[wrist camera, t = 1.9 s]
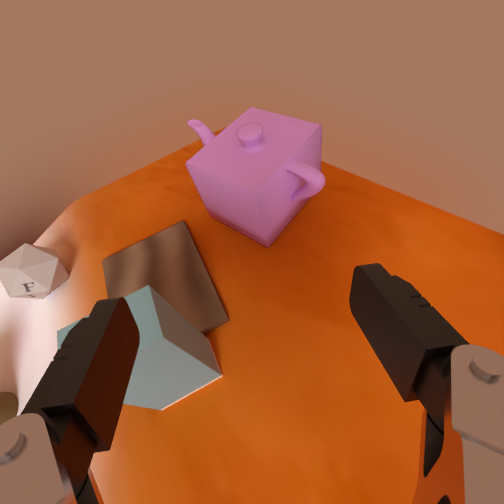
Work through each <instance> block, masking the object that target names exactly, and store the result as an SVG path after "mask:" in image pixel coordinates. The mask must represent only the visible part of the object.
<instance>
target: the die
mask: <svg viewBox="0 0 504 504" xmlns="http://www.w3.org/2000/svg"><path fill="white" fill-rule="evenodd" d="M68 278H69V275H68V273H67V271H66V269H65V267H64V266H63V264H62V262H61V260H60V258H59V256H58V254H57V252H56V250H51V249H47V248H43V247H39V246H35V245H30V244H26V243H25V244H23V245H22V246H21V247H20V248H18V249H17V250H15V251H14V252H13V253H12V254H10V255H9V256H7V257H6V258H5V259H4V260H2V261H0V280H1V282H2V284H3V286H4V287H5V289H6V291H7V293H8V295H9V297H17V298H35V299H43V298H45V297H46V296H47V295H48V294H49V293H51V292H52V291H53V290H54V289H55V288H57V287H58V286H59V285H60V284H61V283H63V282H64V281H65V280H66V279H68Z"/></svg>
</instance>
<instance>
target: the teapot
mask: <svg viewBox="0 0 504 504" xmlns="http://www.w3.org/2000/svg"><path fill="white" fill-rule="evenodd" d="M187 124H188V125H189V126H190V127H191V128H192V129H193V130H194V131H195V132H196V133H197V134H198V135H199V137H200V139H201V141H202V142H203V145H204V147H203V148H202V149H201V150H200V151H199V152H198V153H196V154H195V155H194V156H193V157H192V158H191V159H190V160H188V161H187V162H186V167H187V169H188V171H189V173H190V175H191V177H192V179H193V181H194V183H195V186H196V188H197V190H198V192H199V194H200V196H201V198H202V200H203V202H204V205H205V207H206V209H207V211H208V213H209V215H210V217H212V218H214V219H216V220H217V221H219V222H221V223H223V224H225V225H227V226H228V227H230V228H232V229H234V230H236V231H237V232H239V233H241V234H243V235H245V236H247V237H248V238H250V239H252V240H254V241H256V242H258V243H259V244H261V245H263V246H265V247H267V248H269V247H270V245H271V244H272V243H273V242H274V241H275V240H276V238H277V237H278V236H279V235H280V234H281V232H282V231H283V230H284V229H285V228H286V227H287V225H288V224H289V223H290V222H291V221H292V219H293V218H294V217H295V216H296V215H297V214H298V212H299V211H300V210H301V209H302V208H303V206H304V205H305V204H306V203H307V202H308V201H309V199H310V198H311V197H312V196H314V195H316V194H317V193H318V192H319V191H320V190H321V189H322V188H323V187H324V185H325V177H324V175H323V174H322V173H321V140H322V139H321V138H322V136H321V135H322V125H321V124H316V123H312V122H308V121H304V120H301V119H297V118H293V117H289V116H285V115H281V114H277V113H273V112H268V111H265V110H261V109H257V108H253V107H250V108H249V109H248V110H247V111H246V112H244V113H243V114H242V115H241V116H240V117H238V118H237V119H236V120H235V121H234V122H232V123H231V124H230V125H229V126H228V127H227V128H225V129H224V130H223V131H222V132H221V133H220V134H218V135H217V136H215V135H214V133H213V132H212V131H211V130H210V129H209V128H208V127H207V126H206V125H205V124H204V123H202V122H201V121H199V120H195V119H191V120H188V121H187Z"/></svg>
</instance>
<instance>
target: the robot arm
mask: <svg viewBox="0 0 504 504" xmlns="http://www.w3.org/2000/svg"><path fill="white" fill-rule="evenodd" d="M349 302H350V308H351V312H352V314H353V316H354V318H355V320H356V321H357V323H358V325H359V326H360V328H361V330H362V331H363V333H364V335H365V336H366V338H367V340H368V341H369V343H370V345H371V346H372V348H373V350H374V351H375V353H376V355H377V356H378V358H379V360H380V361H381V363H382V365H383V366H384V368H385V370H386V371H387V373H388V375H389V377H390V378H391V380H392V382H393V383H394V385H395V387H396V388H397V390H398V392H399V393H400V395H401V397H402V398H403V400H404V402H408V401H414V400H420V402H421V403H422V405H423V406H424V408H425V409H424V411H423V415H422V429H421V443H420V458H419V472H418V482H417V488H416V492H415V495H414V499H413V503H412V504H504V357H503V356H502V355H500V354H498V353H496V352H494V351H492V350H490V349H487V348H484V347H481V346H477V345H470V344H469V343H468V342H467V341H466V340H465V339H464V338H463V337H462V336H461V335H460V334H459V333H458V332H457V331H456V330H455V329H454V328H453V327H452V326H451V325H450V324H449V323H448V322H447V321H446V320H445V319H444V318H443V317H442V316H441V314H440V313H439V312H438V311H437V310H436V309H435V308H434V307H433V306H432V307H431V306H430V303H429V302H428V301H427V300H426V299H425V298H424V297H422V296H421V294H420V293H419V292H418V291H417V290H416V289H415V288H414V287H413V286H412V285H411V284H410V283H408V282H406V281H405V280H403V279H401V278H400V277H398V276H396V275H395V276H391V275H390V274H389V273H388V272H387V271H386V270H385V269H384V267H383V266H382V265H380V264H378V263H375V264H368V265H360V266H356V267H355V269H354V272H353V279H352V285H351V292H350V299H349ZM139 344H140V333H139V329H138V326H137V324H136V321H135V319H134V317H133V315H132V312H131V310H130V308H129V305H128V303H127V301H126V299H125V298H124V297H119V298H111V299H104V300H99V301H97V302H96V304H95V306H94V308H93V309H92V311H91V313H90V315H89V317H86V318H82V319H81V320H80V321H79V322H78V323H77V324H76V325H75V326H74V327H73V328H72V329H71V330H70V331H69V332H68V334H67V336H66V337H65V339H64V341H63V342H62V344H61V348H60V349H58V351H57V353H56V355H55V356H54V361H51V363H50V365H49V367H48V368H47V370H46V372H45V373H44V375H43V377H42V379H41V380H40V382H39V384H38V386H37V387H36V389H35V391H34V392H33V394H32V396H31V398H30V399H29V401H28V403H27V405H26V406H25V408H24V410H23V411H22V413H21V414H20V415H19V416H16V417H14V418H12V419H10V420H8V421H6V422H4V423H3V424H1V425H0V504H104V502H103V500H102V497H101V495H100V492H99V489H98V487H97V484H96V481H95V479H94V476H93V473H92V471H91V469H90V468H89V466H90V463H91V460H92V457H93V454H94V453H96V452H102V451H108V450H110V448H111V444H112V441H113V437H114V434H115V430H116V427H117V423H118V420H119V416H120V412H121V409H122V405H123V402H124V398H125V395H126V391H127V388H128V384H129V380H130V377H131V373H132V370H133V366H134V363H135V359H136V356H137V352H138V348H139Z"/></svg>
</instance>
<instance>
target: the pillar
mask: <svg viewBox="0 0 504 504" xmlns="http://www.w3.org/2000/svg"><path fill="white" fill-rule="evenodd" d="M124 298H125V299H126V301H127V303H128V305H129V308H130V310H131V312H132V315H133V317H134V319H135V321H136V324H137V326H138V329H139V333H140V344H139V348H138V352H137V356H136V359H135V363H134V366H133V370H132V373H131V377H130V380H129V384H128V388H127V391H126V395H125V398H124V402H123V404H128V405H134V406H140V407H146V408H152V409H158V410H163V409H165V408H167V407H169V406H171V405H172V404H174V403H176V402H178V401H179V400H181V399H183V398H185V397H187V396H188V395H190V394H192V393H194V392H195V391H197V390H199V389H201V388H203V387H204V386H206V385H208V384H210V383H212V382H213V381H215V380H217V379H219V378H220V377H222V376H223V375H222V373H221V370H220V368H219V365H218V362H217V360H216V357H215V354H214V352H213V349H212V347H211V344H210V341H209V339H208V338H206V337H205V336H204V335H203V334H202V333H201V332H200V331H199V330H198V329H197V328H195V327H194V326H193V325H192V324H191V323H190V322H189V321H188V320H187V319H186V318H185V317H183V316H182V315H181V314H180V313H179V312H178V311H177V310H176V309H175V308H174V307H172V306H171V305H170V304H169V303H168V302H167V301H166V300H165V299H164V298H163V297H162V296H160V295H159V294H158V293H157V292H156V291H155V290H154V289H153V288H152V287H151V286H149V285H147V286H145V287H144V288H142V289H140V290H138V291H136V292H134V293H132V294H130V295H128V296H126V297H124ZM86 317H89V315H88V316H86ZM86 317H84V318H86ZM80 320H81V319H80ZM80 320H78V321H76V322H74V323H72V324H70V325H68V326H66V327H65V328H63V329H61V330H59V331H57V341H58V349H60V348H61V344H62V342H63V341H64V339H65V337H66V336H67V334H68V332H69V331H70V330H71V329H72V328H73V327H74V326H75V325H76V324H77V323H78V322H79V321H80Z"/></svg>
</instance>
